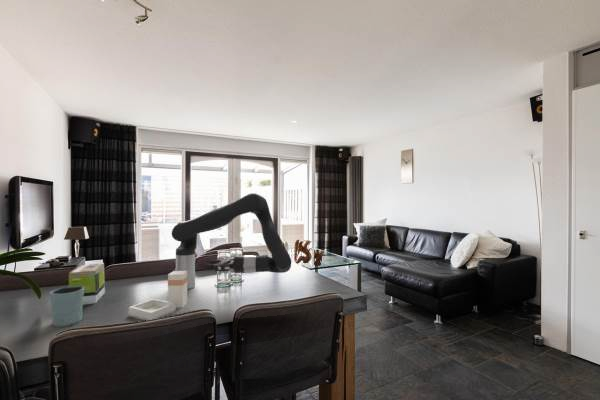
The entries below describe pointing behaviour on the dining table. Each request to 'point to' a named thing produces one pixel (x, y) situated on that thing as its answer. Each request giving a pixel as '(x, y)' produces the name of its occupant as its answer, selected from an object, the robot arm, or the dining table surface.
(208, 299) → the dining table surface
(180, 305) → the carton
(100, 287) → the tea box
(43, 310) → the dining table surface
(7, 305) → the dining table surface
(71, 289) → the light blue cup
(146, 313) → the white rectangular dish
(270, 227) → the robot arm
